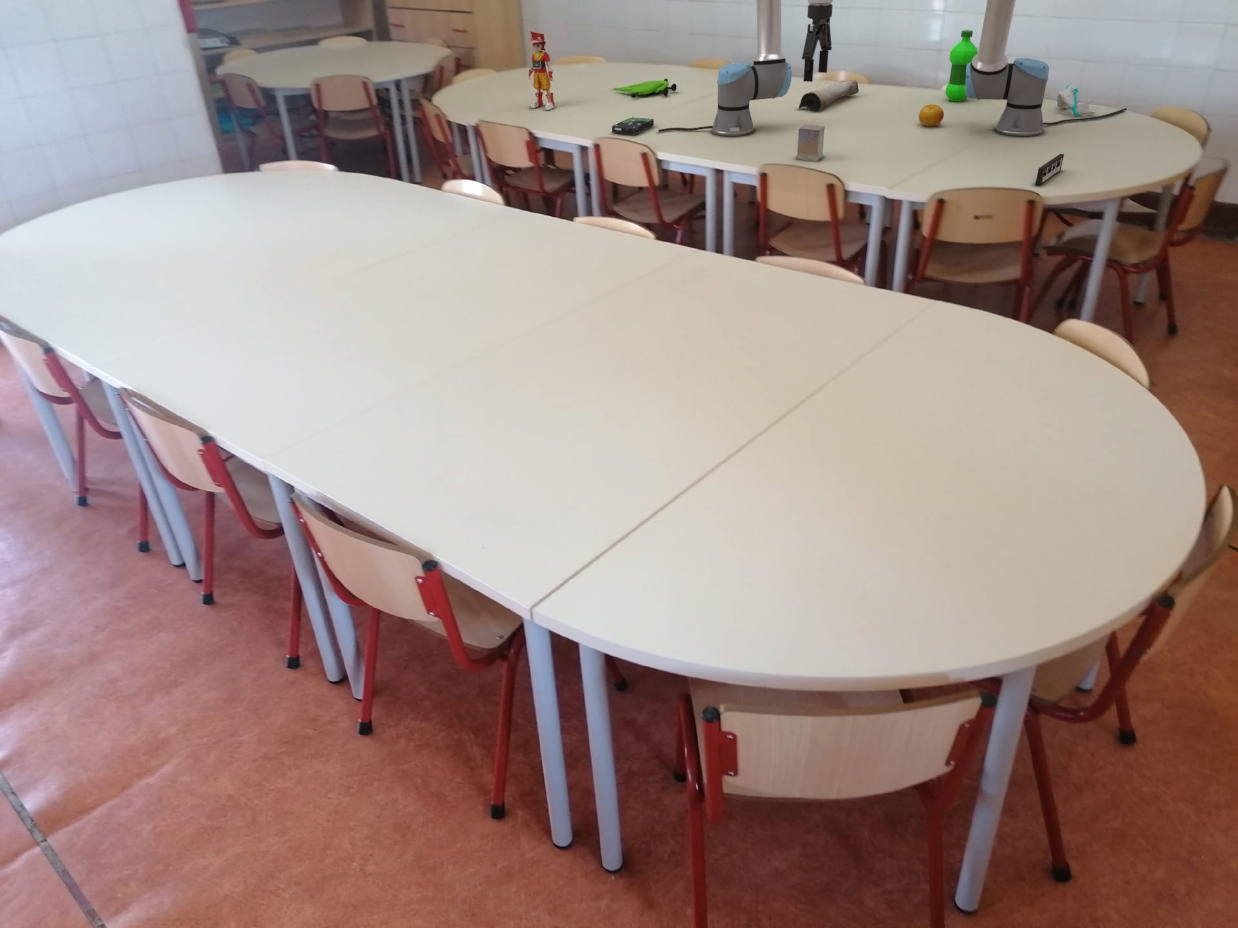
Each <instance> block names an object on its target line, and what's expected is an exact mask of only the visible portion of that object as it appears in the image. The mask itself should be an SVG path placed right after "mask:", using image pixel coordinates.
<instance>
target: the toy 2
mask: <svg viewBox="0 0 1238 928" xmlns="http://www.w3.org/2000/svg"><path fill="white" fill-rule="evenodd" d="M669 85H670V83H669V79H668V78H664V79H663V80H649V81H644V82H640V83H634V84H629V85H627V86H621V87H613V88H612V89H613V90H616V91H619V92H623V93H627V94H628V93H629V94H631V95H630V96H631V98H632V99H634V98H636V96H637V95H650V94H652V93H654V94H658V93H662V95H663V96H665V97H667V96H668V95H669V90H671V91H672V92H676V91H677V84H676V83H672V84H671V86H669Z"/></svg>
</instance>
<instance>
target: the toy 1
mask: <svg viewBox="0 0 1238 928" xmlns="http://www.w3.org/2000/svg"><path fill="white" fill-rule="evenodd" d="M529 33H530V35H531V36H528V37H527V38H528V39H529V40H528V41H527V43H529V44H530V43H531V44H532V48H533V50H534V51H533V52H532V55H531V58H530V59H531V63H530V66H528V74H527V75H528V76H527V77H528V79H529V80H531V75H532V74H533V84H532V85H533V86H532V87H533V88H534V89H535V90H536V92H534V95H535V97H536V100H535V101H533V102H531V105H530V108H531V109H535V108H538V107H542V106H544V101H543V100H544V99H543V95H544V92H546V94H545V97H546V99H547V103H546V104H545V106H544V110H546V111H549V110H553V109H554V107H555V106H556V105H555V99H554V92H551V91H550V90H551V86H552V84H551V82H552V81H553V80H554V77H553V73H554V71H555V70H554V69H552V68H551V63H550V61H551V59H550V58H551V57H550V54H549V53H548V52H547V50H546V48H545V46H546V44H547V41H545V35H544V33H543V32H542V33H539V32H535V31H529Z"/></svg>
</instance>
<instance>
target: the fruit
mask: <svg viewBox="0 0 1238 928" xmlns="http://www.w3.org/2000/svg"><path fill="white" fill-rule="evenodd" d="M944 116H945V111H944V108H942V107H941V106H940V105H938V104H927V105H924V106H923V107H922V108H921V109H920V110H919V113H918V120H919V122H920V124H921V125H923V126H927V127H935V126H938V125H939V124H940V123H942V121H943V120H944Z"/></svg>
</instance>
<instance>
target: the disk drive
mask: <svg viewBox="0 0 1238 928" xmlns="http://www.w3.org/2000/svg"><path fill="white" fill-rule="evenodd" d="M653 126H655V121H654V118H645V117H633V116H632V117H628V118H627V119H624V120H621V121H619V122H618V123H615V124H613V125H612V126H611V132H612V133H614V134H620V135H629V136H630V135H631V136H635V135H638V134H639V133H642V132H644V131H646V130H648V129H651V128H653Z"/></svg>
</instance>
